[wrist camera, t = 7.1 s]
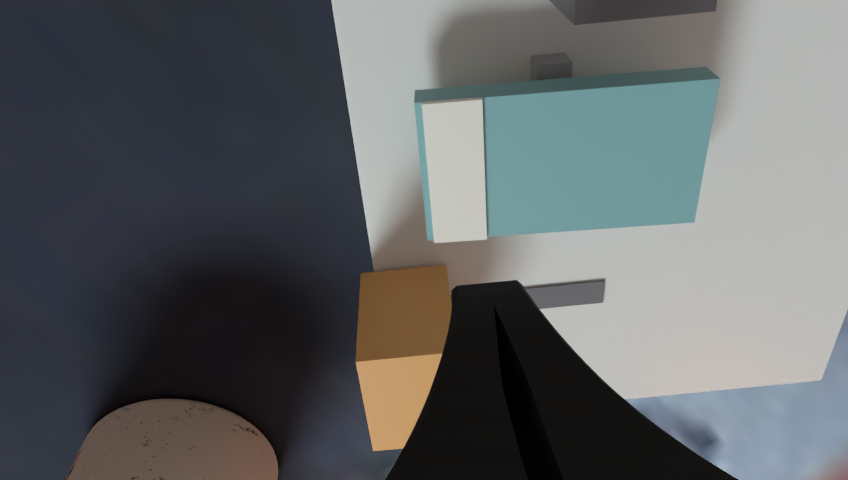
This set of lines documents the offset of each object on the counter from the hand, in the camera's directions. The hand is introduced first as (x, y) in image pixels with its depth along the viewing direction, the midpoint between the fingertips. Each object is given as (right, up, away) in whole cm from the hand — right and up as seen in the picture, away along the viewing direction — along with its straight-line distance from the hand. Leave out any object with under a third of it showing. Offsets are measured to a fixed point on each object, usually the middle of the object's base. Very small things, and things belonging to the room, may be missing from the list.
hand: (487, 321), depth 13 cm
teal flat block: (+3, +4, +5) cm, 7 cm away
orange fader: (-2, -1, +10) cm, 10 cm away
